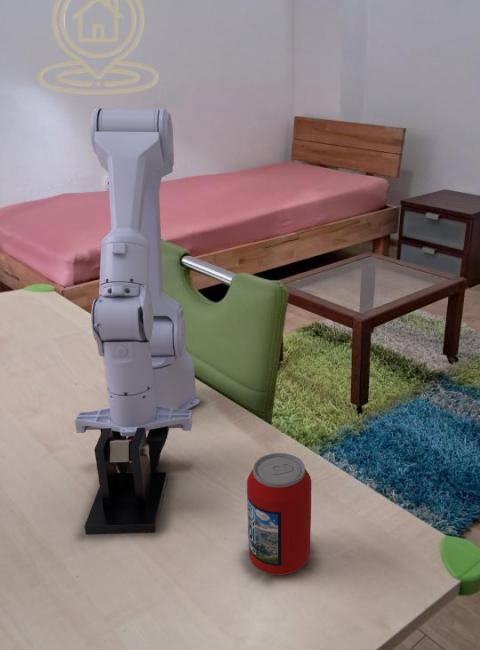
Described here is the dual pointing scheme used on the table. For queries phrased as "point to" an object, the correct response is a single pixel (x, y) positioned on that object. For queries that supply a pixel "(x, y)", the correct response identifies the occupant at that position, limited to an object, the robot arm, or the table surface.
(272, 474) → the beverage can
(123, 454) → the lever
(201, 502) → the table surface
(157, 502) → the bracket
